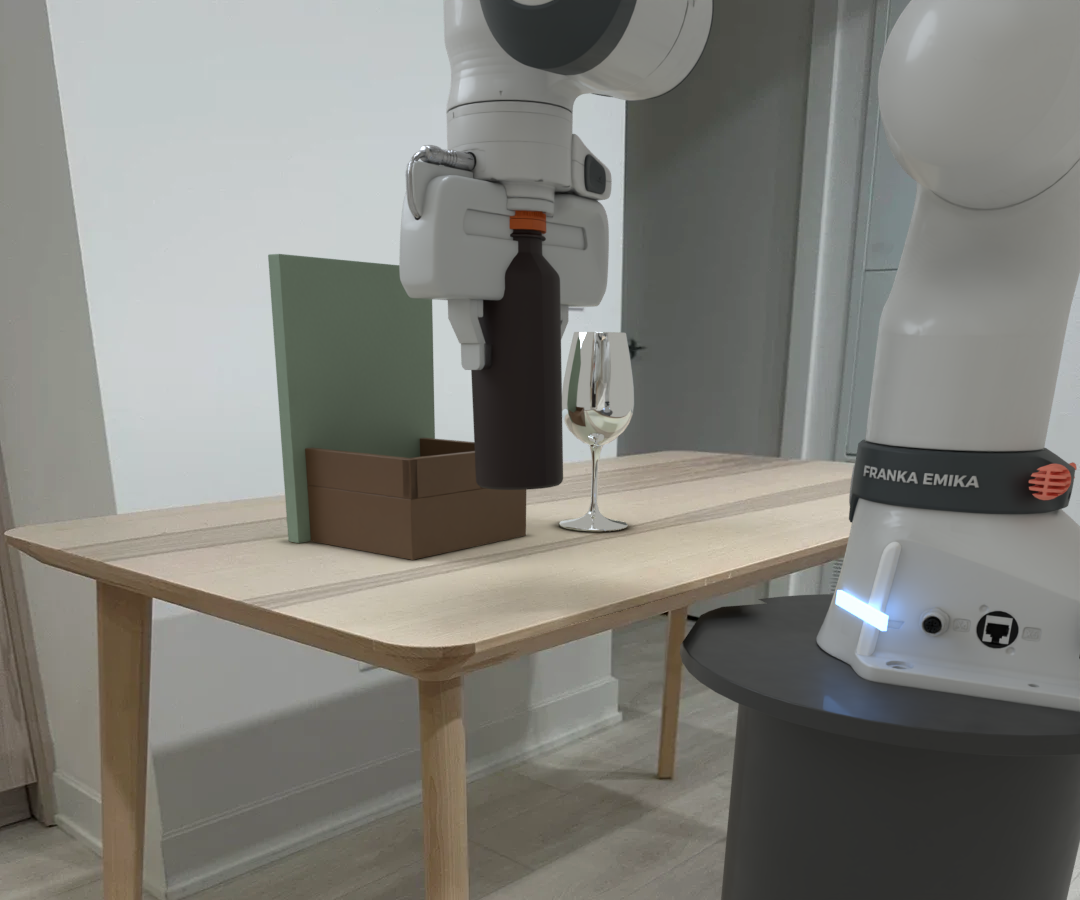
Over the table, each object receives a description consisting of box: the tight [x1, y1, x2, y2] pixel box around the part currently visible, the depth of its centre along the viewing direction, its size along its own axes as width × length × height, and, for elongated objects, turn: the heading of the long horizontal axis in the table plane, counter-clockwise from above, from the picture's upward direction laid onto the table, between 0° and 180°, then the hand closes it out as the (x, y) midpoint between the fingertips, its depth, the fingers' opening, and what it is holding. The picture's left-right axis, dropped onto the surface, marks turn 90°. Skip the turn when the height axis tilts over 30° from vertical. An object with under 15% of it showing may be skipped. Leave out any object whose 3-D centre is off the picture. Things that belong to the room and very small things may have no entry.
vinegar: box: [470, 197, 564, 491], centre depth 76 cm, size 7×7×20 cm
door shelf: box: [267, 253, 527, 561], centre depth 99 cm, size 16×20×26 cm
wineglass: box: [558, 331, 635, 533], centre depth 108 cm, size 8×8×20 cm
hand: (512, 369), depth 76 cm, fingers closed on vinegar, 7 cm apart
